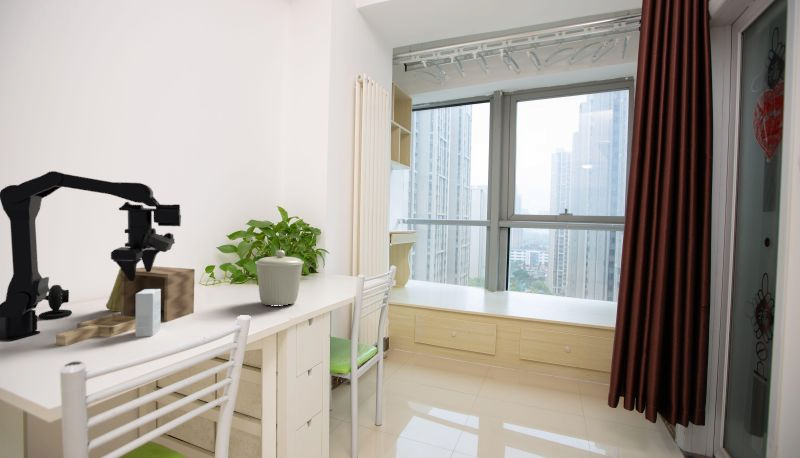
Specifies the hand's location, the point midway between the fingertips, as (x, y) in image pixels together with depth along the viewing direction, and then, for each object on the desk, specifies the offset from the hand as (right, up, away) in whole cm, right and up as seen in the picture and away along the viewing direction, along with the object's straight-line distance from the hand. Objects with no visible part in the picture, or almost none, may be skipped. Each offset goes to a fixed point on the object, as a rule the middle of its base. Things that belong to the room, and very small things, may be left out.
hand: (140, 276), depth 105 cm
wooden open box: (-1, -14, +9) cm, 17 cm away
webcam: (-29, -13, +3) cm, 32 cm away
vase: (-18, -12, +12) cm, 25 cm away
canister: (+32, -15, +30) cm, 46 cm away
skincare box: (+8, -15, -8) cm, 19 cm away
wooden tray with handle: (-4, -15, -10) cm, 18 cm away
